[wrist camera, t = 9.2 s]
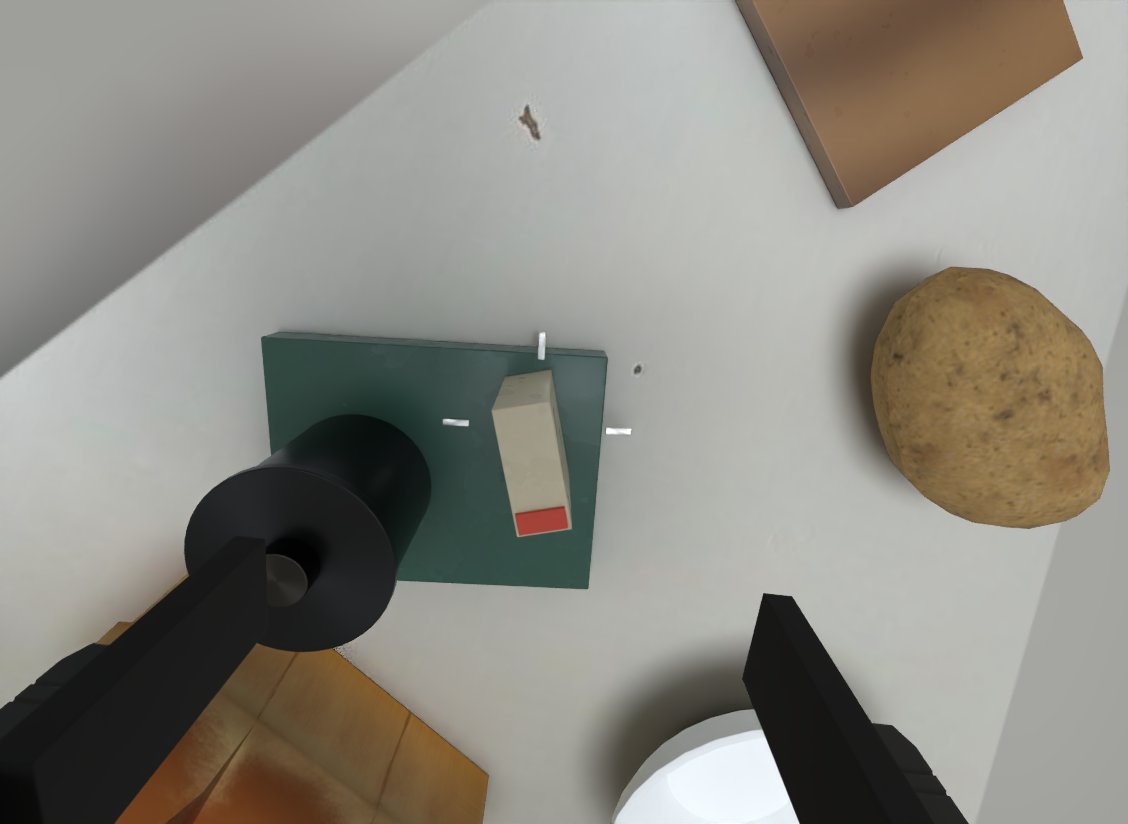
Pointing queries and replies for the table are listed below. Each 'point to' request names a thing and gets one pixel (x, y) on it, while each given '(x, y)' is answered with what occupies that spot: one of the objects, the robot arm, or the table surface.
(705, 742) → the bowl
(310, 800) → the bread
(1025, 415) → the potato
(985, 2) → the board
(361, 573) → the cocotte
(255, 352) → the table surface
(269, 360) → the green rectangular slab
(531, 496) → the cream juice carton
